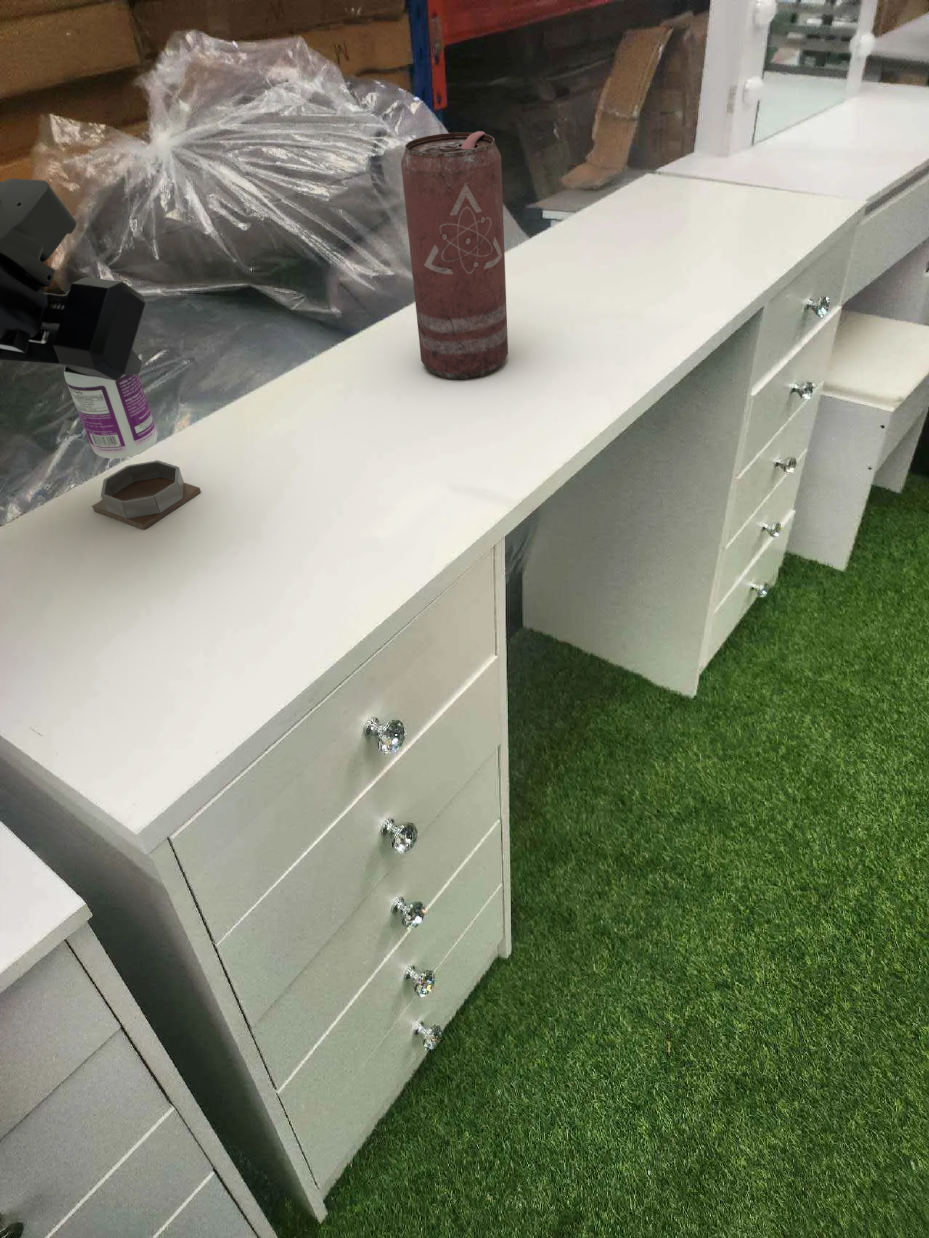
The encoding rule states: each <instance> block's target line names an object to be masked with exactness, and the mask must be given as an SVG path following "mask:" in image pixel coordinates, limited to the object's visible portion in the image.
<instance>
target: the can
mask: <svg viewBox="0 0 929 1238" xmlns="http://www.w3.org/2000/svg"><path fill="white" fill-rule="evenodd" d="M404 148H405V149H404V152H403V156H402V158H401V161H400V167H401V176H402V177H401V178H402V187H403V188H402V189H403V196H404V206H405V214H406V216H405V217H406V224H407V225H406V226H407V234H408V244H409V255H410V263H411V273H412V275H411V276H412V281H413V282H412V283H413V293H414V302H415V303H414V304H415V313H416V323H417V332H418V333H417V334H418V340H419V341H418V342H419V352H420V353H419V354H420V361H421V363H422V364H423V365H424V367H425V368H426V369H427V370H428V372H430V374H433V375H434V376H437V377H439V378H442V379H443V378H444V379H448V380H468V379H469V380H470V379H476V378H477V379H478V378H480V377H485V376H487V375H490V374H493V373H495V372H496V371H498V369H500V368H502V365H503V364H504V363H505V360H506V359H507V356H508V354H509V342H508V341H509V340H508V337H509V336H508V313H507V312H508V311H507V285H506V284H507V283H506V256H505V254H506V253H505V229H504V226H505V225H504V201H503V200H504V199H503V177H502V176H503V173H502V155H501V152H500V151H499V148H498V146H497V145H496V141H495V138H494V136H491V135H489V134H486V133H485V132H484V131H481V130H477V131H475V132H448V133H439V134H438V133H437V134H431V135H427V136H423V137H419V138H416V139H412V140H410V141H408V142H407V143H406V144H405V146H404Z"/></svg>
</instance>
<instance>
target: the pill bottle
mask: <svg viewBox="0 0 929 1238" xmlns="http://www.w3.org/2000/svg"><path fill="white" fill-rule="evenodd" d="M65 367H66V366H64V369H63V376H64V379H65V383H66V385H67V388H68V390H69V392H70V395H71V398H72V401H73V404H74V405H75V408H76V410H77V411H76V412H77V413H78V416H79V419H80V421H81V424H82V426H83V429H84V431H85V434H86V437H87V439H88V442H89V445H90V447H91V450H92V451H93V452H94V453H95V454H96V455H97V456H99V457H101V458H104V459H110V460H112V459H113V460H114V459H115V460H116V459H118V460H119V459H124V458H125V459H126V458H131V457H134V456H137V455H141V454H143V453H144V452H146V451H147V450H149V449H150V448H152V447H153V445H155V443H156V442H157V439H158V430H157V427H156V424H155V421H154V418H153V415H152V412H151V409H150V408H151V407H150V405H149V403H148V400H147V397H146V393H145V391H144V390H145V389H144V388H143V385H142V382H141V379H140V376H139V375H140V374H139V375H123V376H122V377H120V378H119V379H118V380H117V381H115V380H109V379H104V378H99V377H90V376H84V375H79V374H74V373H69V372H65V371H64V370H65Z"/></svg>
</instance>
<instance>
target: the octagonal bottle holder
mask: <svg viewBox="0 0 929 1238" xmlns="http://www.w3.org/2000/svg"><path fill="white" fill-rule="evenodd" d="M101 486H102V487H101V492H100V497H101V500H99V501H97V502H96V503H94V504H93V505H92V506H91V508H92V510H93V511H94V512H97V513H99V514H102V515H104V516H107V517H110V518H112V519H115V520H118V521H121V522H123V523H126V524H128V525H131V526H134V527H136V528H138V529H141V530H147V529H149V527H151V526H153V525H154V524H155V523H157V522H158V521H160V520H161V519H163V518H165V517H166V516H167V515H168V514H171V513H172V512H173V511H176V509H178V508H180V507H181V506H183V505H184V504H185V503H187V502H189V501H190V500H192V499H193V498H195V497H196V496H198V495H199V494H201V493H202V490H201V488H200V487H199V486H196V485H193V484H190V483H188V482H185V481H184V478H183V476H182V473H181V469H180V467H179V466H177V465H174V464H171V463H168V462H165V461H161V460H153V461H152V460H151V461H146V462H140V463H134V464H127V465H126V466H124V467H123V468H120V469H119V470H118V471H115V472H114V473H113V474H110V475H109V476H107V477H106V478H104V479H103V481H102V485H101Z"/></svg>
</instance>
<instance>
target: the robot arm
mask: <svg viewBox="0 0 929 1238" xmlns="http://www.w3.org/2000/svg"><path fill="white" fill-rule="evenodd" d="M76 227H77V220H76V218H74V216H73V215H72V214H71V212H70V211H69V210H68V208H67V206H66V205H65V203H63V201H62V200H61V198H60V197H59V196H58V195H57V193H56V192H55V191H54V189H53V188H52V186H51V185H50V183H49V182H47V181H46V180H42V179H28V178H27V179H25V178H8V179H5V180H3V181H0V361H11V362H12V361H13V362H26V363H27V362H28V363H45V364H55V365H62V366H64V368H65V370H64V369H63V372H64V371H65V372H69V373H74V374H79V375H84V376H90V377H99V378H104V379H109V380H115V381H117V380H118V379H119V378H120V377H122V376H123V375H140V373H141V370H142V366H143V361H142V359H141V358H140V357H139V356H138V355H137V352H135V351H134V349H133V347H134V344H135V340H136V337H137V333H138V330H139V326H140V324H141V320H142V317H143V314H144V310H145V307H146V303H147V302H146V301H145V299H144V297H143V295H142V293H140V292H138V291H137V290H135V289H134V288H132V287H131V286H129V285H128V284H126V283H125V282H124V281H119V280H112V279H103V278H97V277H88V276H86V277H82V278H80V279H78V280H77V281H74V282H71V284H70V289H68V290H67V291H66V293H65V294H57V293H50V292H45V290H46V288H51V286H52V282H53V279H54V276H55V273H56V269H54V268H53V267H51V266H50V265H48V264H46V263H45V262H46V261H48V260H49V259H50V258H51V256H52V255H53V254H54V253H55V251H56V250H57V248H58V247H59V246H60V244H61V243H62V242H63V240H64V239H65V238H66V237H67V235H68V234H69V235H71V234H72V233H73V232H74V231H75V229H76ZM65 366H66V367H65Z"/></svg>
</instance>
